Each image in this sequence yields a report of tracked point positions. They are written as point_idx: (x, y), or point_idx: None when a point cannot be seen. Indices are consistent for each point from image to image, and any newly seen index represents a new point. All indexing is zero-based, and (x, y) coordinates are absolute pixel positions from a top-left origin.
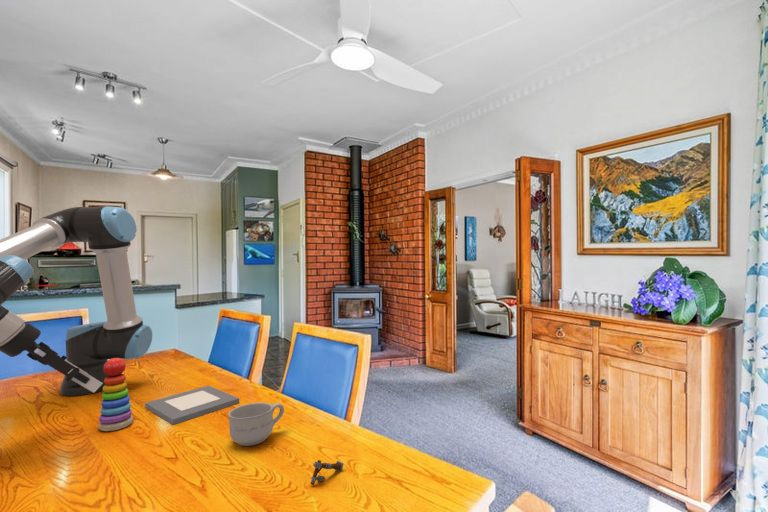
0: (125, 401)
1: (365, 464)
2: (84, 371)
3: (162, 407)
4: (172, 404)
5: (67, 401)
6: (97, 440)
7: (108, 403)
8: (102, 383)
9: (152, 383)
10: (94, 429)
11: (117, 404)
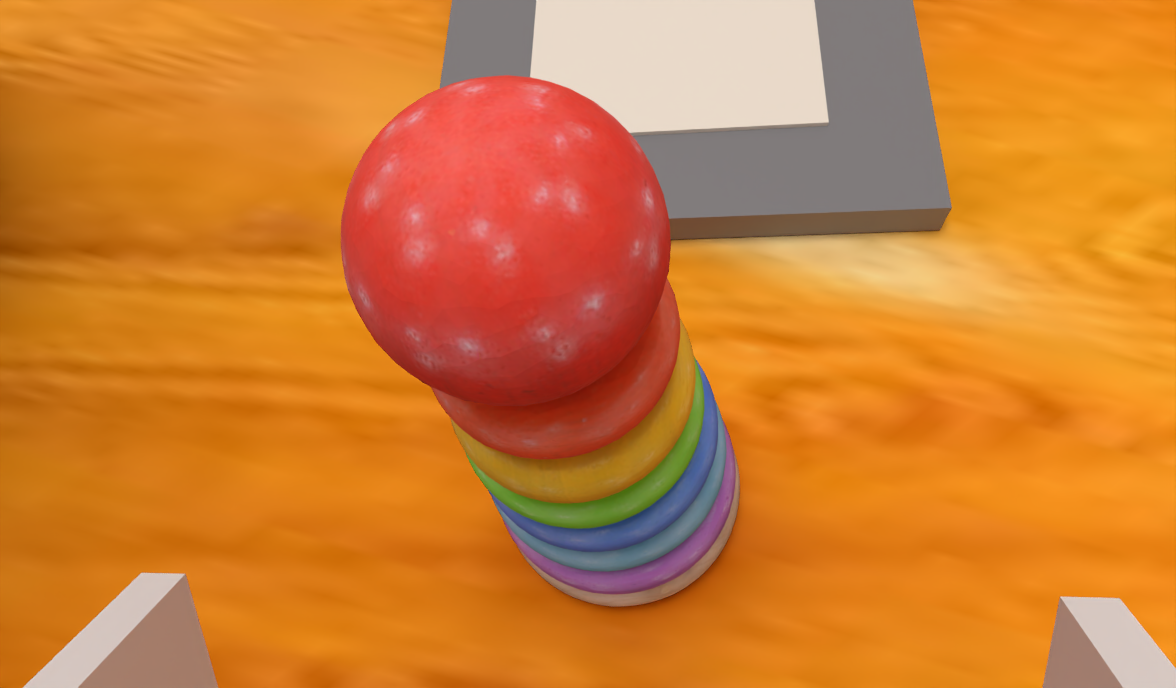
0: (703, 373)
1: None
2: (144, 620)
3: None
4: (643, 122)
5: None
6: (813, 677)
7: (675, 508)
8: (1116, 605)
9: (3, 83)
10: (548, 620)
11: (715, 445)
